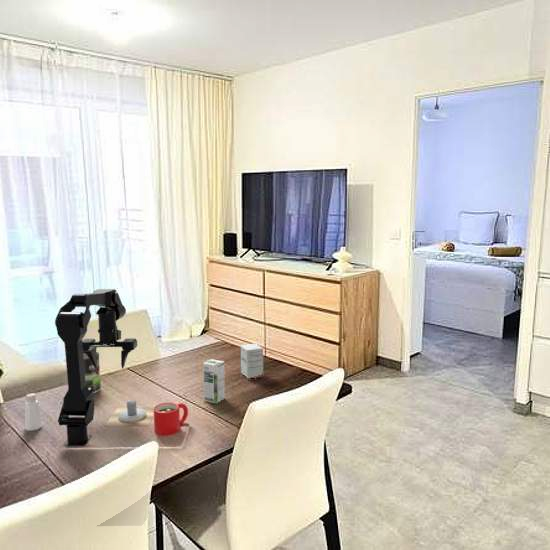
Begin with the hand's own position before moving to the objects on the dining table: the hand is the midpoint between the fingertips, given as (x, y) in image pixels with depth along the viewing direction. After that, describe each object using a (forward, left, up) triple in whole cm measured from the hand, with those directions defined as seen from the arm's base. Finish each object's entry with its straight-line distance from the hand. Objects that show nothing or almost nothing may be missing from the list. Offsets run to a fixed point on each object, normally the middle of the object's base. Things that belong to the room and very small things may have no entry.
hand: (109, 368), depth 169 cm
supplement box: (+28, -49, -14) cm, 58 cm away
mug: (-18, -25, -14) cm, 34 cm away
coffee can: (+14, +14, -14) cm, 24 cm away
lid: (-10, -10, -13) cm, 19 cm away
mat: (-10, -10, -14) cm, 20 cm away
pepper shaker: (-16, +20, -14) cm, 29 cm away
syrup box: (+4, -36, -14) cm, 39 cm away
